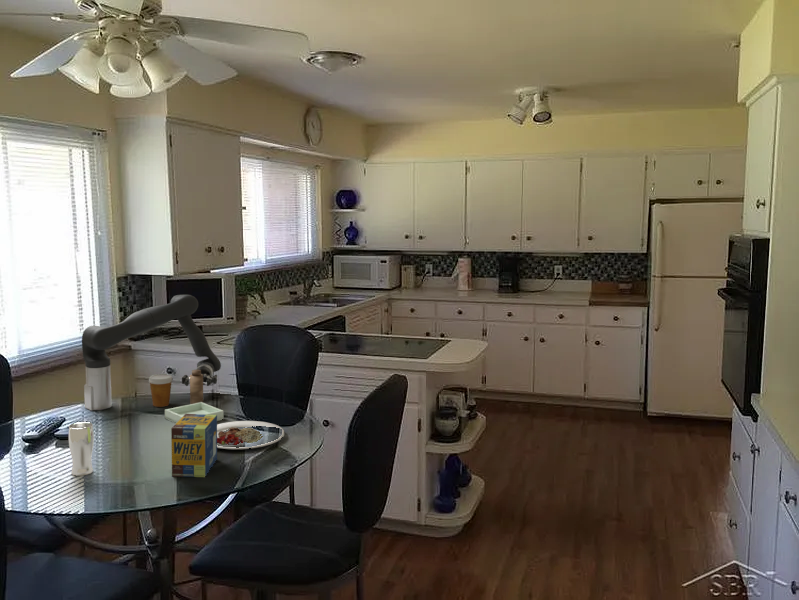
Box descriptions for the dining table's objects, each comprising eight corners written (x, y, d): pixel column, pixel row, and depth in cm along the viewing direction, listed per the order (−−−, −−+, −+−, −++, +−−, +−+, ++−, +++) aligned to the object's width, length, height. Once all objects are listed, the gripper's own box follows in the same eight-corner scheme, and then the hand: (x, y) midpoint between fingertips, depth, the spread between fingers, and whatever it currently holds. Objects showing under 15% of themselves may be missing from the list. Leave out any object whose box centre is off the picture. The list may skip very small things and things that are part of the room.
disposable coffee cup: (178, 404, 284) (177, 376, 283) (159, 409, 276) (158, 380, 275) (162, 400, 289) (162, 372, 288) (143, 405, 281) (143, 377, 280)
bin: (186, 428, 254) (186, 419, 254) (164, 418, 265) (164, 409, 265) (223, 419, 266) (223, 410, 265) (201, 410, 277) (201, 402, 276)
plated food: (293, 428, 259) (293, 419, 258) (271, 456, 229) (271, 446, 229) (217, 423, 262) (217, 415, 261) (185, 450, 232) (184, 441, 232)
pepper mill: (194, 408, 279) (194, 372, 277) (187, 405, 283) (187, 370, 281) (205, 406, 283) (205, 370, 281) (199, 403, 286) (198, 368, 285)
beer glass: (88, 466, 215) (86, 420, 213) (99, 472, 211) (97, 425, 209) (65, 472, 210) (64, 425, 208) (76, 478, 205) (74, 430, 203)
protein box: (171, 477, 209) (170, 428, 206) (185, 458, 224) (185, 413, 222) (205, 477, 209) (205, 428, 207) (218, 459, 224) (217, 413, 222)
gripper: (186, 366, 298) (179, 374, 282) (219, 366, 300) (214, 374, 284) (186, 382, 299) (179, 392, 283) (219, 382, 301) (214, 392, 285)
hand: (197, 383), depth 283 cm, fingers open, 8 cm apart
